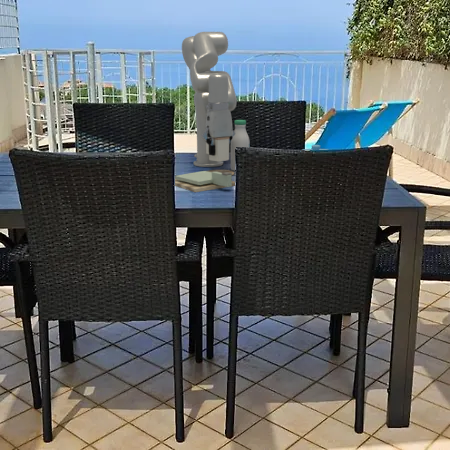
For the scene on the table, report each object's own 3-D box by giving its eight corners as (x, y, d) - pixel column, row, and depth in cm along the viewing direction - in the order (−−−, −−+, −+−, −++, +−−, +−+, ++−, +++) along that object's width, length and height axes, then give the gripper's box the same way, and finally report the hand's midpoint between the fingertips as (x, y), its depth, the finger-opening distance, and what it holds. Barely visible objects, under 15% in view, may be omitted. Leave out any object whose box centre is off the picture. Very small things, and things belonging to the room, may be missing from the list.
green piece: (214, 189, 208) (214, 176, 206) (174, 179, 223) (174, 167, 222) (244, 183, 217) (244, 170, 215) (204, 174, 232) (204, 162, 231)
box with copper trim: (218, 161, 236) (218, 138, 233) (204, 159, 242) (204, 136, 239) (229, 160, 240) (229, 136, 237) (215, 157, 246) (215, 135, 243)
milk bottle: (247, 171, 246) (248, 121, 240) (229, 171, 247) (228, 121, 242) (251, 168, 253) (251, 119, 247) (232, 167, 254) (232, 118, 249)
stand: (168, 183, 225) (167, 179, 225) (208, 177, 235) (208, 173, 235) (194, 192, 211) (194, 187, 211) (236, 185, 221) (236, 181, 221)
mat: (197, 173, 243) (197, 171, 243) (222, 169, 250) (222, 168, 250) (215, 178, 234) (215, 176, 233) (240, 174, 240) (240, 173, 240)
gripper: (205, 109, 227) (206, 157, 231) (242, 106, 236) (242, 153, 241) (194, 107, 233) (195, 155, 237) (230, 105, 242) (231, 151, 247)
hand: (218, 153), depth 239 cm, fingers closed on box with copper trim, 5 cm apart
